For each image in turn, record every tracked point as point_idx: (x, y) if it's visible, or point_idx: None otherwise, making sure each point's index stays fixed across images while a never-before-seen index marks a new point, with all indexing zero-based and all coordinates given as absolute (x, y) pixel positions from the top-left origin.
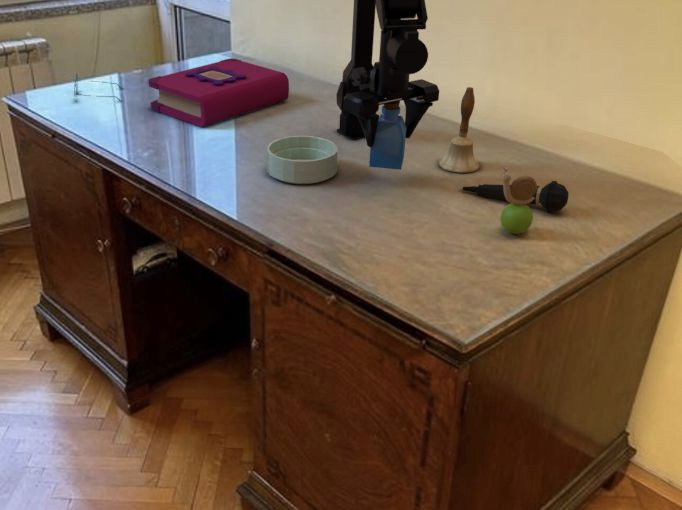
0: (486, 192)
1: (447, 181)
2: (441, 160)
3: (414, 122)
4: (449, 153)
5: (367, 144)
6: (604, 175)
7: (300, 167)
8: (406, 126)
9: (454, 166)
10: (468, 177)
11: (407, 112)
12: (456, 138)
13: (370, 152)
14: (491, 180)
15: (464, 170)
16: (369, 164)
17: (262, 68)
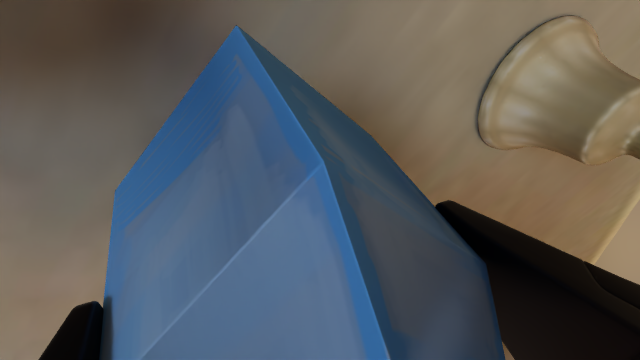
0: None
1: (414, 177)
2: (527, 58)
3: (508, 348)
4: (550, 104)
5: (69, 320)
6: (606, 222)
7: None
8: (484, 271)
9: (498, 131)
10: (473, 170)
11: (612, 342)
12: (623, 130)
13: (111, 264)
14: (489, 199)
15: (498, 148)
16: (115, 202)
17: None
